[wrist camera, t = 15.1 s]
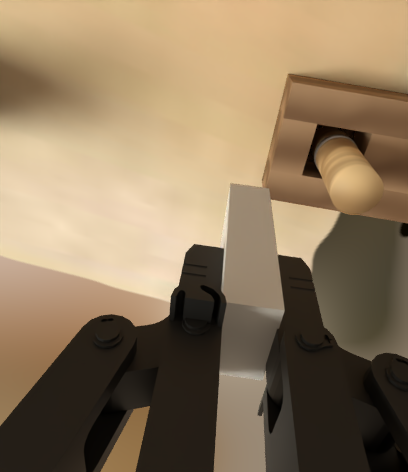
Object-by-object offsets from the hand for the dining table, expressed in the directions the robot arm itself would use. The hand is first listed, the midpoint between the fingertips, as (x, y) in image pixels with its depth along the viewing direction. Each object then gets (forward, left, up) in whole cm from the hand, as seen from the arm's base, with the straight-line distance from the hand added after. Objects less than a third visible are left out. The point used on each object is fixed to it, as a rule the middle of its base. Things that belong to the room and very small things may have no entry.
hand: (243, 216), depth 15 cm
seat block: (+4, +13, -29) cm, 32 cm away
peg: (+4, +10, -29) cm, 31 cm away
